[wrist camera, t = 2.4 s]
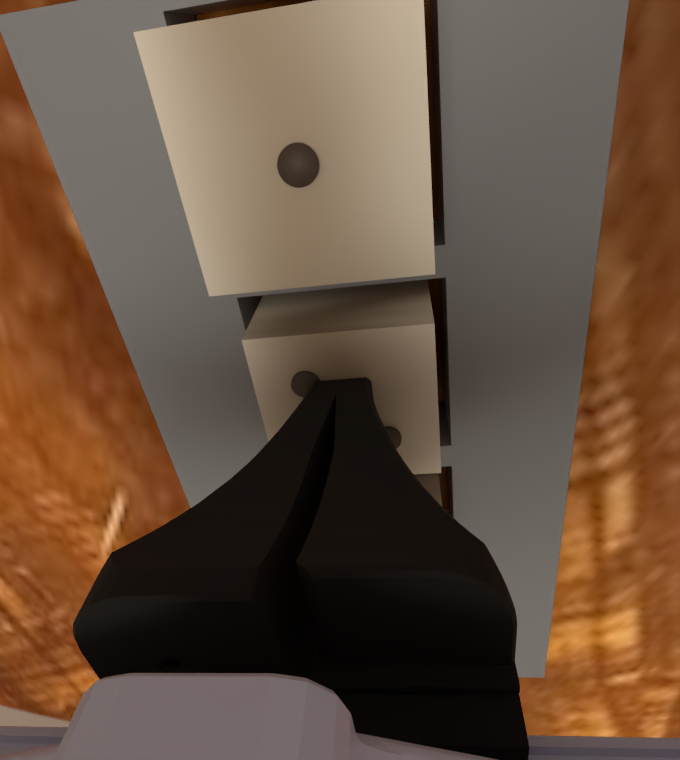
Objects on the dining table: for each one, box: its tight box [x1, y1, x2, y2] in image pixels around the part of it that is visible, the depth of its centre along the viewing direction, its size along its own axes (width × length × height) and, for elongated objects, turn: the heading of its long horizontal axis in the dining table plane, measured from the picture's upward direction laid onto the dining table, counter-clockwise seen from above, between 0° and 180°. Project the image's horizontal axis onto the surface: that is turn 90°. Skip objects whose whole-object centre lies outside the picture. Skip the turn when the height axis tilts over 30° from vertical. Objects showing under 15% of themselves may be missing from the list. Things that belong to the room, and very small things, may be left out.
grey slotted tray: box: [0, 0, 629, 677], centre depth 17 cm, size 12×24×2 cm, turn 8°
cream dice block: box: [242, 279, 441, 474], centre depth 14 cm, size 4×4×3 cm
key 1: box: [133, 0, 435, 296], centre depth 10 cm, size 4×4×3 cm
